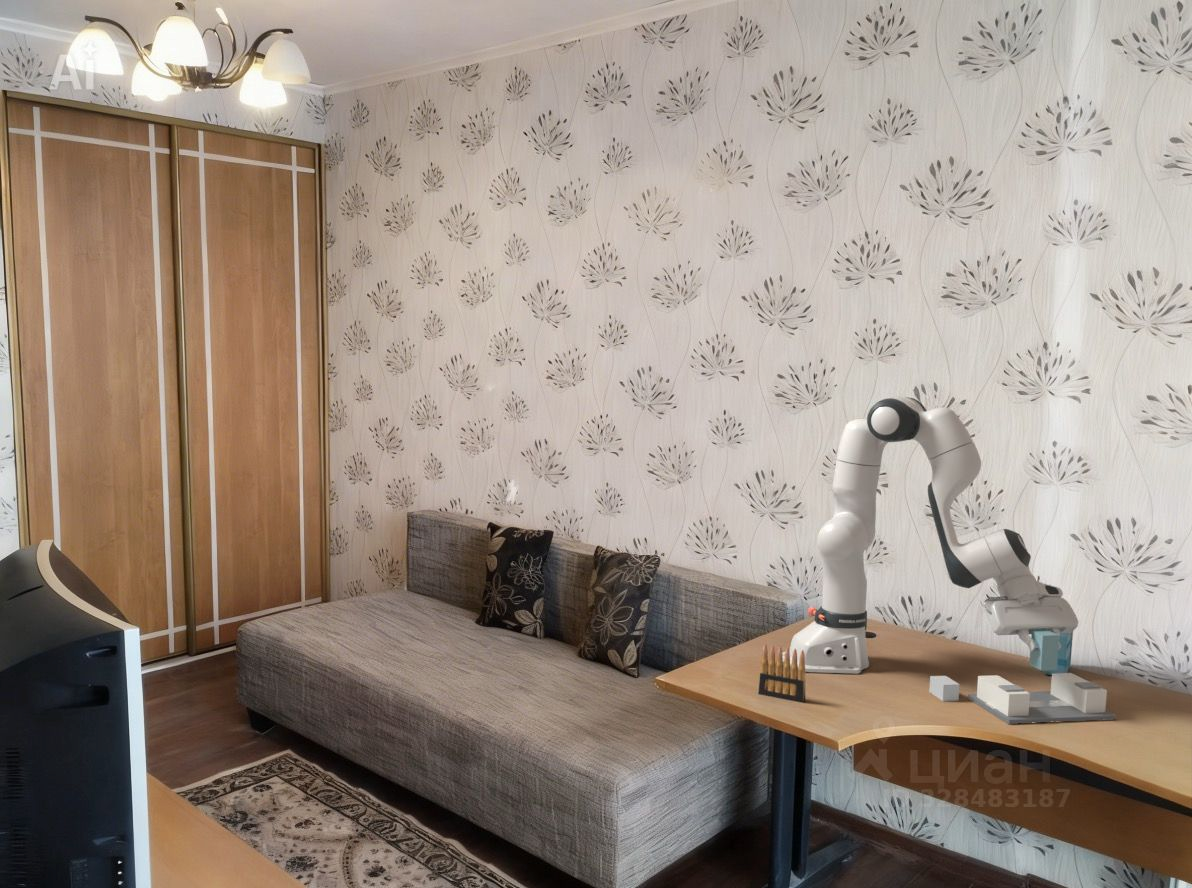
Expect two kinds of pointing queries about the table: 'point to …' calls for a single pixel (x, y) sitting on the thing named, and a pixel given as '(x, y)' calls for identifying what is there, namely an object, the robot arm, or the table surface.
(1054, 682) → the block
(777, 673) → the ammunition clip
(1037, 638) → the block
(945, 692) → the block
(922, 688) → the table surface
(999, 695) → the block
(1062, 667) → the data package
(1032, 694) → the rail board
